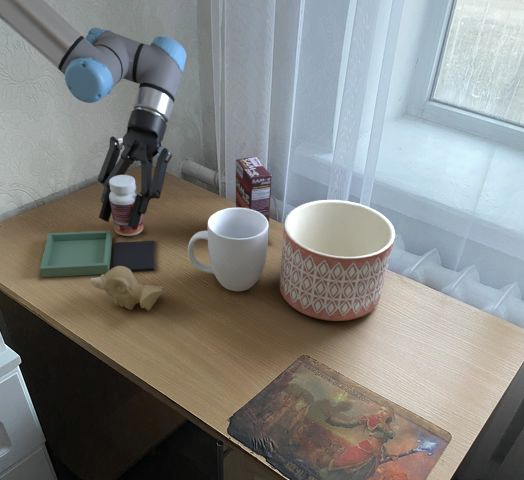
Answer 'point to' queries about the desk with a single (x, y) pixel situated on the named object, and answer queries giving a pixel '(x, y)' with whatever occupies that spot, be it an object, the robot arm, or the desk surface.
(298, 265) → the planter
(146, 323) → the desk surface
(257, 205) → the supplement box
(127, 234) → the pill bottle
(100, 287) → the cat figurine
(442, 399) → the desk surface
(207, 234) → the mug
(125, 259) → the scrub mat
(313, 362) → the desk surface
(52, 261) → the tray
